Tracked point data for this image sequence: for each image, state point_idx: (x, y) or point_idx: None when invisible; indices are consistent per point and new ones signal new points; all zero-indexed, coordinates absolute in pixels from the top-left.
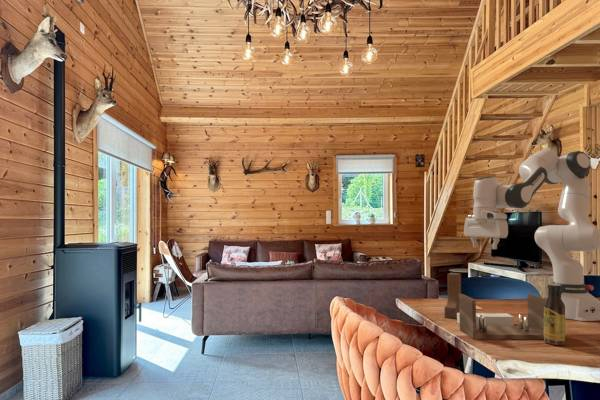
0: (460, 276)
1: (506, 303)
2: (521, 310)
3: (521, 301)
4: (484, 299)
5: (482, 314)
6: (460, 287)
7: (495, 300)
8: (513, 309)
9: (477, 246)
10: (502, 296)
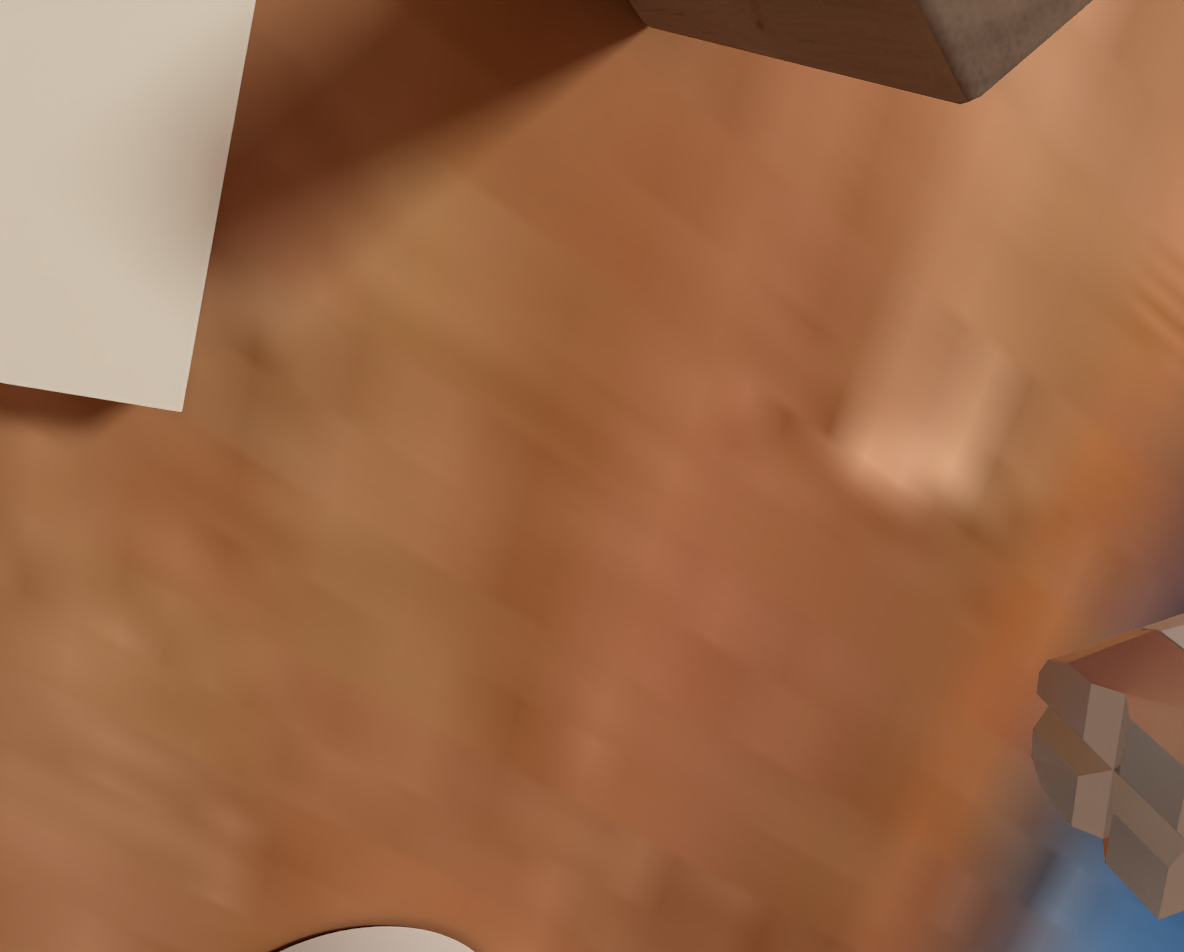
0: (914, 72)
1: (922, 798)
2: (650, 786)
3: (930, 938)
4: None
5: (147, 14)
6: (799, 41)
7: None
8: (706, 741)
9: (1067, 765)
10: None
